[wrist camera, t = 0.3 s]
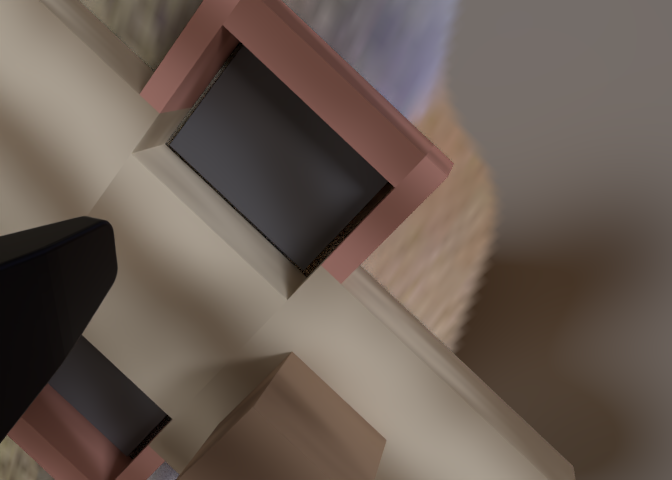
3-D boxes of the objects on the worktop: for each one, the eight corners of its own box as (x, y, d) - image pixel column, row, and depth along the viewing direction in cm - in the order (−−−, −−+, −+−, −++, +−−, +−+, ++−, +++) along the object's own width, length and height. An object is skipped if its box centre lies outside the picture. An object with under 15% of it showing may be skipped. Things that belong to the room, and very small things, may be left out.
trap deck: (304, 648, 32) (257, 789, 26) (-181, 197, 31) (-344, 233, 25) (689, 387, 23) (754, 507, 17) (22, -245, 23) (-153, -350, 17)
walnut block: (306, 505, 26) (273, 582, 22) (218, 423, 26) (170, 486, 22) (386, 440, 24) (364, 511, 20) (292, 351, 24) (253, 406, 20)
